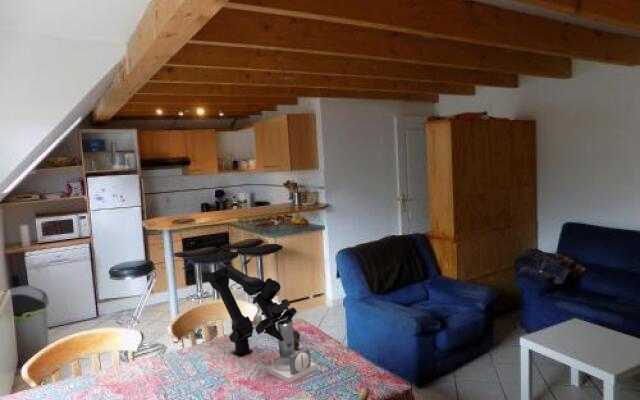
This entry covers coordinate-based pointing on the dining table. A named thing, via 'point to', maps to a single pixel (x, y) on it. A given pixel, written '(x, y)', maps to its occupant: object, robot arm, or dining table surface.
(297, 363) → the dial scale
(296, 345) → the dark brown lobed figurine
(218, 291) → the robot arm
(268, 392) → the dining table surface
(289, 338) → the cylinder
